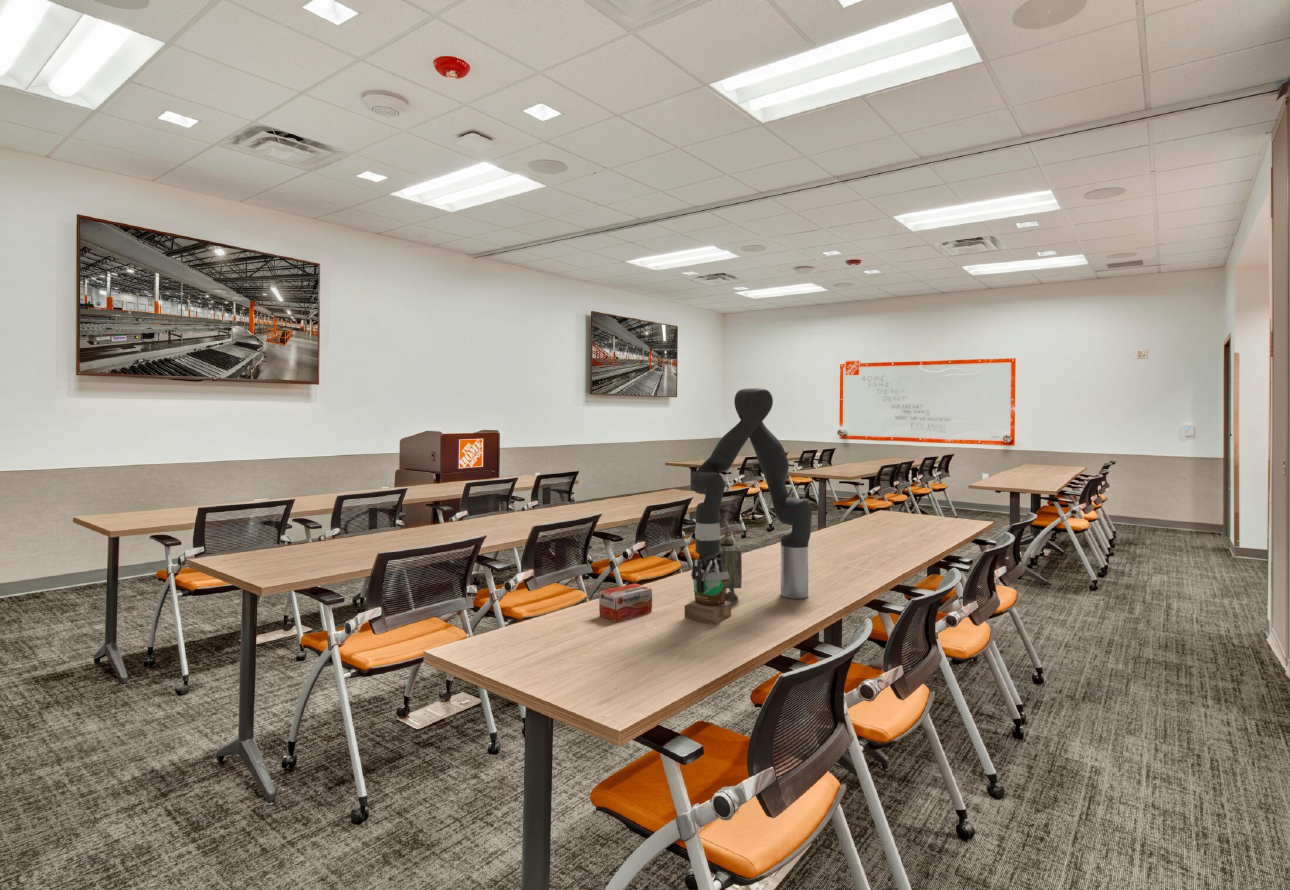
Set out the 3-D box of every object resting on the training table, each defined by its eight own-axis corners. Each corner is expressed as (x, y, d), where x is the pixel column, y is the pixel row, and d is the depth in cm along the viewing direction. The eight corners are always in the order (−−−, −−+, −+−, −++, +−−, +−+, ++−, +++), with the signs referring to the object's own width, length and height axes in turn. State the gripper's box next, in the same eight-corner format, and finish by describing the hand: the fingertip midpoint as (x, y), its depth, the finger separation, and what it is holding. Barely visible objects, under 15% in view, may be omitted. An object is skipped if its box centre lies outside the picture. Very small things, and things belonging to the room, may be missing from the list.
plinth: (703, 609, 206) (703, 596, 206) (731, 615, 200) (731, 601, 200) (684, 618, 197) (684, 604, 197) (713, 624, 191) (713, 610, 191)
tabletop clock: (741, 601, 215) (741, 526, 214) (714, 602, 215) (714, 526, 214) (736, 590, 230) (736, 520, 229) (710, 590, 230) (710, 520, 229)
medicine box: (615, 622, 194) (615, 596, 194) (598, 616, 200) (598, 591, 200) (652, 612, 204) (652, 587, 204) (635, 607, 210) (635, 582, 210)
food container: (683, 603, 198) (684, 570, 198) (692, 598, 203) (692, 567, 203) (721, 608, 192) (721, 575, 192) (729, 604, 197) (729, 571, 197)
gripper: (708, 532, 206) (708, 583, 206) (684, 539, 194) (684, 593, 195) (729, 535, 201) (729, 587, 202) (706, 542, 190) (706, 597, 190)
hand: (707, 590), depth 198 cm, fingers open, 8 cm apart
